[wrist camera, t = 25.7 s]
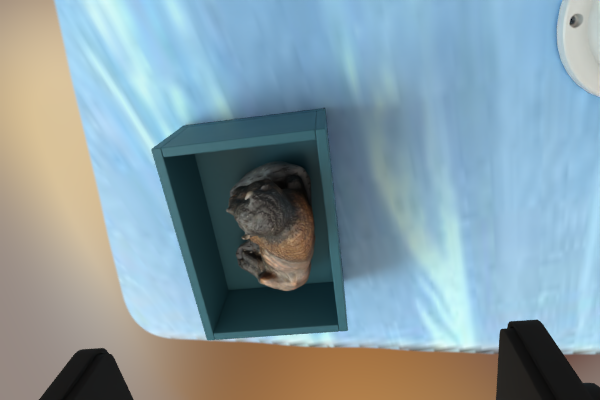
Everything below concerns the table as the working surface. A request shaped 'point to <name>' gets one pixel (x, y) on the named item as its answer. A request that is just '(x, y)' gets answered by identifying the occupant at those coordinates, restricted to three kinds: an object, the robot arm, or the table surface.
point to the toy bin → (228, 235)
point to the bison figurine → (275, 224)
